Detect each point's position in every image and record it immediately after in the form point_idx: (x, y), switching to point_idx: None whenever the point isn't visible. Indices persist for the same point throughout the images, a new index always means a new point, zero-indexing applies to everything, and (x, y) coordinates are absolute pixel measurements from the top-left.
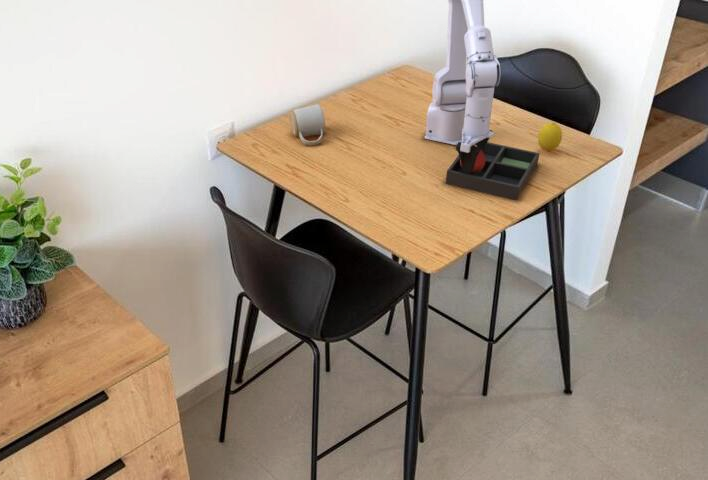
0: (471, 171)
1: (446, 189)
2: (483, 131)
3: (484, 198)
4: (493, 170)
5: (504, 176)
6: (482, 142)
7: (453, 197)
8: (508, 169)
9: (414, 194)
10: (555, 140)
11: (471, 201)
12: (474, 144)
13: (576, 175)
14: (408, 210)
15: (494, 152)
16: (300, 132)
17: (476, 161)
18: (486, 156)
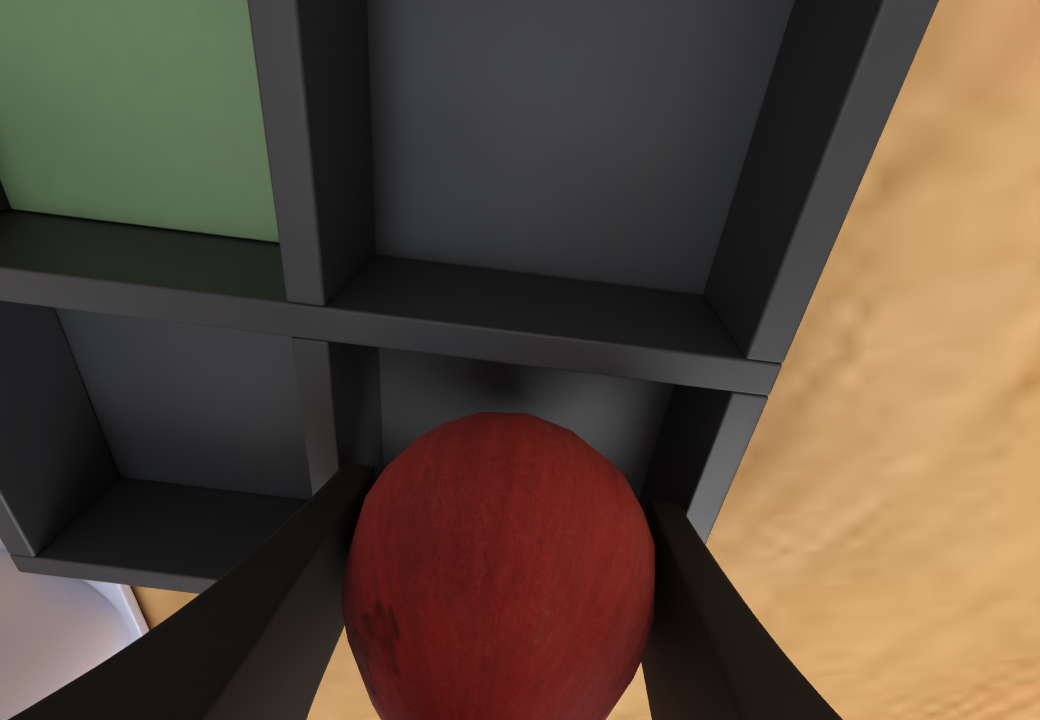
0: (687, 520)
1: (720, 528)
2: None
3: (841, 248)
4: (375, 271)
5: (377, 123)
6: (246, 715)
7: (836, 476)
8: (332, 89)
9: (810, 654)
10: None
11: (901, 348)
12: (296, 708)
13: None
14: (1009, 657)
15: (21, 323)
16: None
17: (636, 584)
18: (115, 365)
